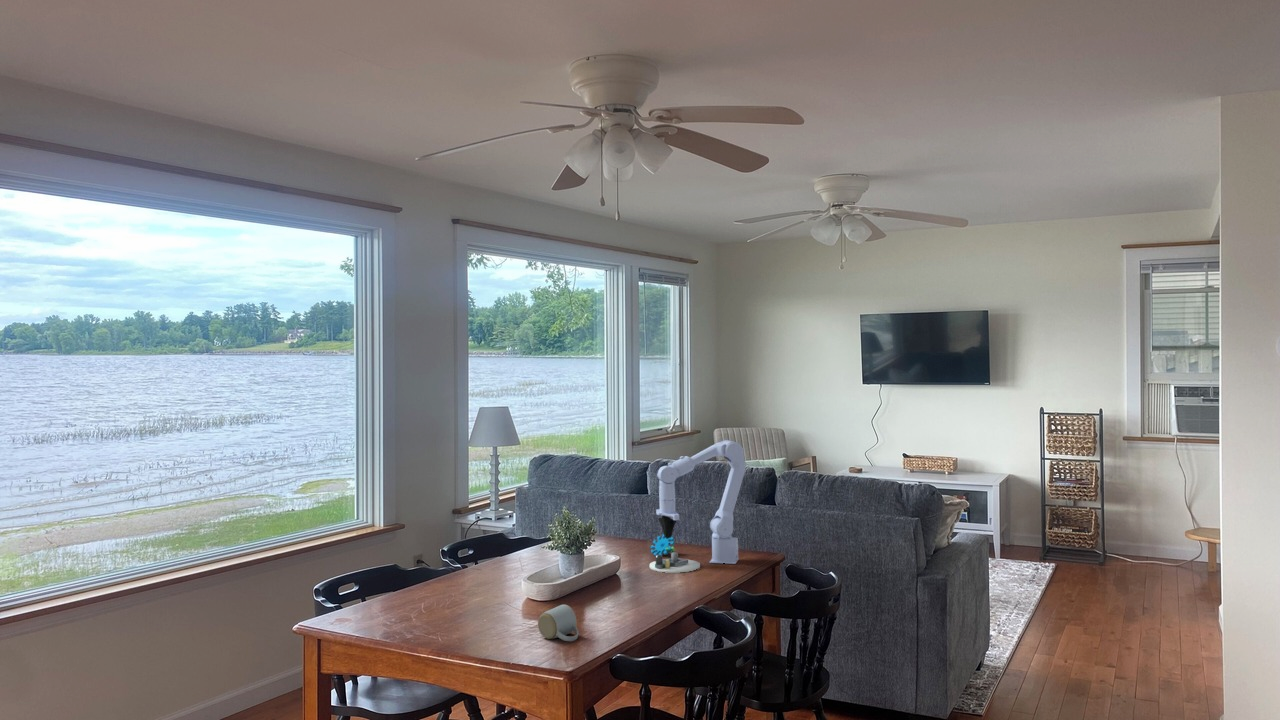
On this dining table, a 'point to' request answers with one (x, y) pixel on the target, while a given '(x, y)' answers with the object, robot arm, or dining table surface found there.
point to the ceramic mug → (558, 623)
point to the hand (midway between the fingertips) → (668, 537)
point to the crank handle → (661, 563)
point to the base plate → (671, 569)
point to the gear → (663, 546)
